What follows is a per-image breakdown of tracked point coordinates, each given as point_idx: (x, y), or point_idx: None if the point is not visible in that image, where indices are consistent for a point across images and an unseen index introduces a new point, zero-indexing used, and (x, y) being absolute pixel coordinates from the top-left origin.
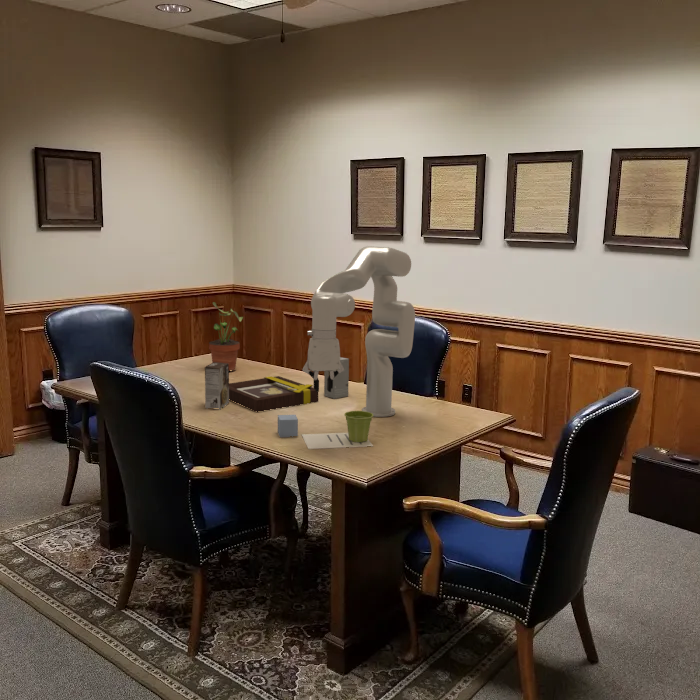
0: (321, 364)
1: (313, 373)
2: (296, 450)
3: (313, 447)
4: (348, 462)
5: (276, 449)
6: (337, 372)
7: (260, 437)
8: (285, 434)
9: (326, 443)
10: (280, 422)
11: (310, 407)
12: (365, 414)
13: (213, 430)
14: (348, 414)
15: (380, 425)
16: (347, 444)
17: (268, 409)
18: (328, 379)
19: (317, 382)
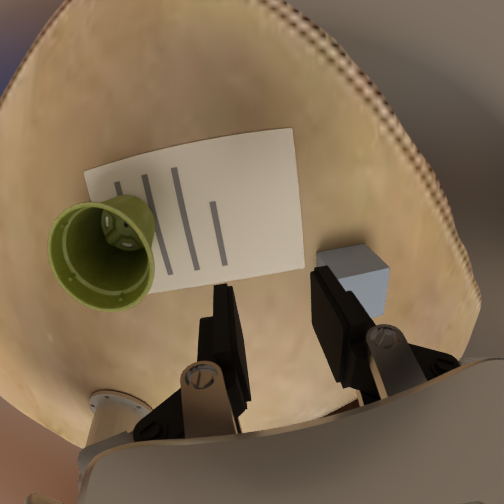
0: (431, 481)
1: (421, 375)
2: (328, 119)
3: (274, 139)
4: (167, 17)
5: (381, 135)
6: (142, 433)
7: (406, 241)
8: (353, 249)
9: (229, 181)
10: (384, 264)
11: (263, 429)
12: (85, 293)
13: (466, 281)
14: (142, 287)
15: (95, 346)
16: (159, 175)
17: (347, 406)
18: (242, 373)
19: (352, 308)
